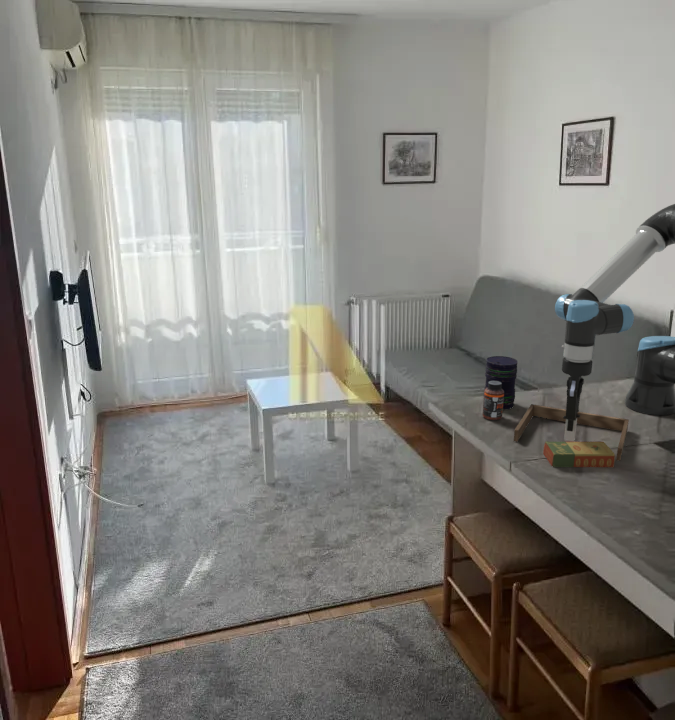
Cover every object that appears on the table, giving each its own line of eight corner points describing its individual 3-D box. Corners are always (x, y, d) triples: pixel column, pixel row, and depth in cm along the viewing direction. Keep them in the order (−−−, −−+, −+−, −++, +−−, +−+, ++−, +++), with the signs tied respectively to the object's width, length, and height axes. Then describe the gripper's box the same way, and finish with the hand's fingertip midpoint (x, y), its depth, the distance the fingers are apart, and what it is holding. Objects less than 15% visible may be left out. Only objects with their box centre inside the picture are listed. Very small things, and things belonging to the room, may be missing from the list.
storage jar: (491, 397, 225) (495, 354, 221) (519, 403, 219) (523, 359, 215) (477, 405, 218) (480, 361, 213) (505, 412, 212) (509, 366, 207)
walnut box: (627, 430, 198) (628, 419, 197) (620, 460, 178) (621, 448, 177) (530, 414, 210) (531, 404, 209) (513, 441, 190) (514, 429, 189)
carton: (613, 469, 174) (616, 453, 173) (551, 468, 175) (553, 453, 173) (602, 455, 182) (604, 440, 181) (542, 454, 183) (544, 440, 181)
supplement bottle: (498, 422, 204) (501, 386, 200) (479, 418, 207) (482, 383, 203) (504, 416, 209) (507, 381, 205) (485, 412, 212) (488, 378, 208)
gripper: (566, 350, 187) (558, 429, 194) (559, 363, 176) (551, 446, 183) (595, 354, 184) (586, 434, 191) (589, 367, 173) (580, 451, 179)
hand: (569, 440), depth 187 cm, fingers closed
